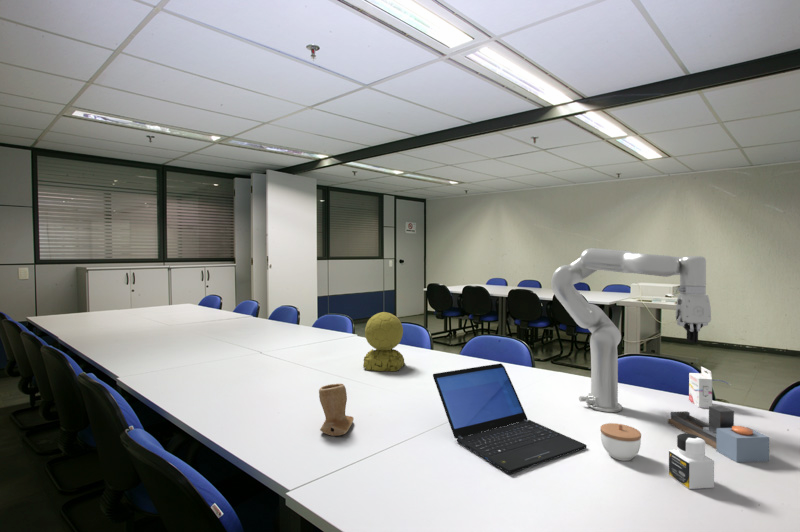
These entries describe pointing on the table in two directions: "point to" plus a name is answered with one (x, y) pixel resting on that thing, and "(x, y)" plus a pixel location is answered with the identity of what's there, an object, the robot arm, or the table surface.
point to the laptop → (497, 419)
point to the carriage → (719, 419)
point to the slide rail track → (691, 426)
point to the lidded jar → (620, 440)
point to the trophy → (383, 343)
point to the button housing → (742, 445)
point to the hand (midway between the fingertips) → (692, 342)
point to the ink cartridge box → (701, 388)
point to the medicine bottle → (691, 463)
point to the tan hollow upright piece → (334, 409)
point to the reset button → (742, 430)
